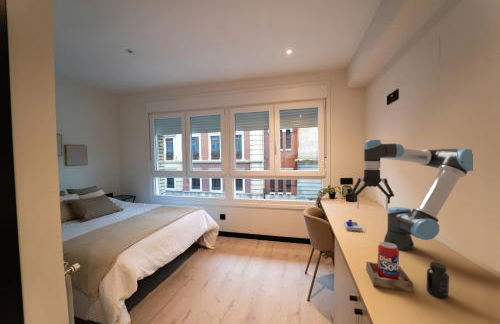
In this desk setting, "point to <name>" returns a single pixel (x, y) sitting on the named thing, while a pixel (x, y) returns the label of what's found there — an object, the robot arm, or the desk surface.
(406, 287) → the walnut box
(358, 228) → the grey desk tray
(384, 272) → the soda can
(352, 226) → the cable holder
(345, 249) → the desk surface
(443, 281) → the supplement bottle
